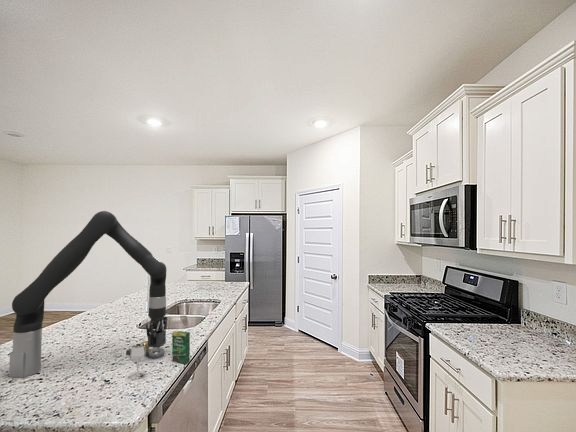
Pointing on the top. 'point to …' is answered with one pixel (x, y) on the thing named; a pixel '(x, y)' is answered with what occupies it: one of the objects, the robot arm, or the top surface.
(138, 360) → the wineglass
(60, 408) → the top surface
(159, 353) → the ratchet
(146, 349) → the socket
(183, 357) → the coffee box
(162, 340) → the socket
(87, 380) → the top surface
